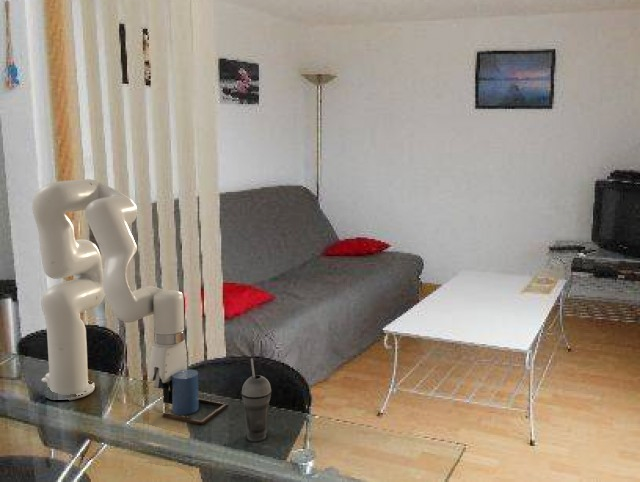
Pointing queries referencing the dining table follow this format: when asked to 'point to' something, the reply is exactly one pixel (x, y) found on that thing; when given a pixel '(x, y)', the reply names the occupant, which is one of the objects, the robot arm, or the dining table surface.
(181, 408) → the can
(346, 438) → the dining table surface
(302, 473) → the dining table surface
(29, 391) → the dining table surface
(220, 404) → the frame
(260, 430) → the beverage cup
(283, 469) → the dining table surface
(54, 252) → the robot arm
